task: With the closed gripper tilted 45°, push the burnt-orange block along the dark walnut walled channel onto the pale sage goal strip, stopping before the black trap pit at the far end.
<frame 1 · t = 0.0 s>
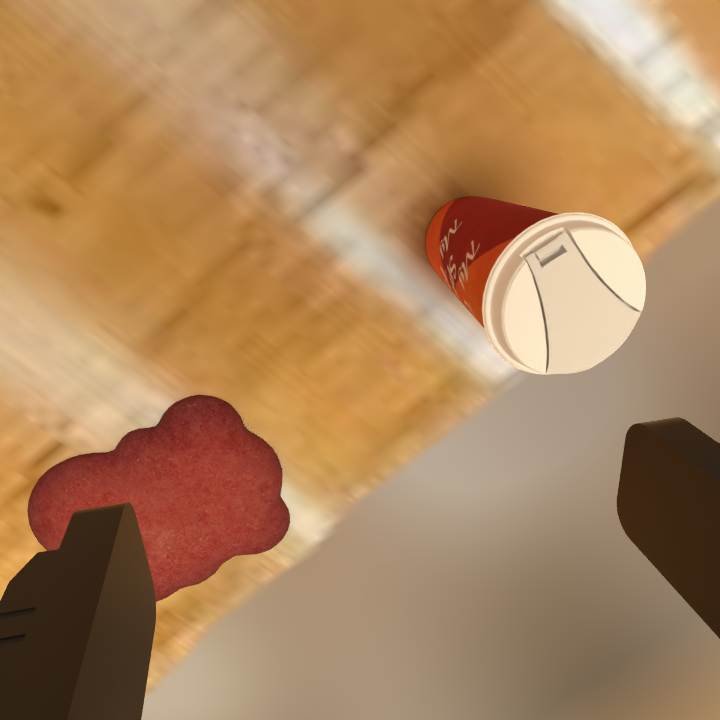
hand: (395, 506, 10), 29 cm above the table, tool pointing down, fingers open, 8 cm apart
patty: (166, 503, 43), on the table
paper cup: (465, 240, 39), on the table
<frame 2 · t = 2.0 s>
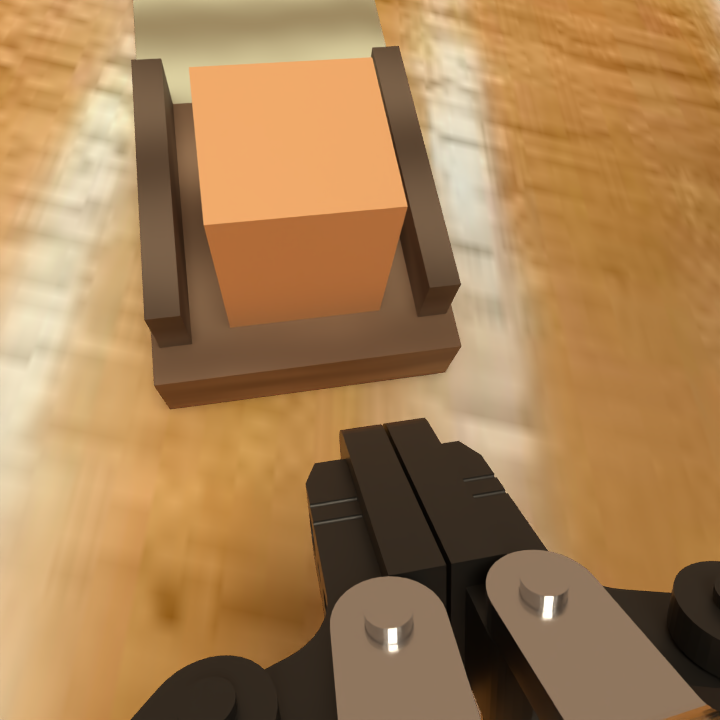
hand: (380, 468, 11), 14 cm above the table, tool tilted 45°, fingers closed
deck: (289, 242, 29), on the table
block: (296, 254, 25), point 3 cm above the table, touching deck
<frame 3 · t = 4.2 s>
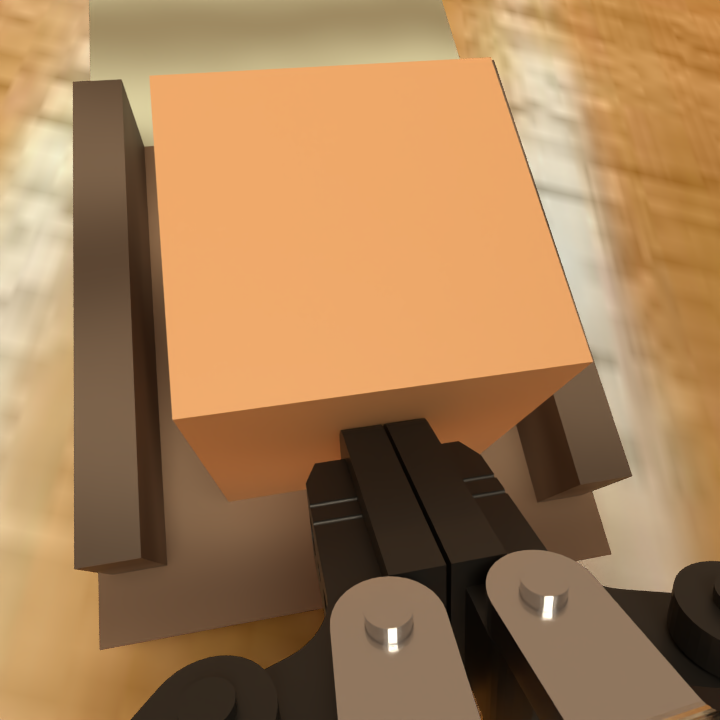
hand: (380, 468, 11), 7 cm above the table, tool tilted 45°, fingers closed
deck: (320, 351, 19), on the table
block: (333, 369, 16), point 3 cm above the table, touching gripper
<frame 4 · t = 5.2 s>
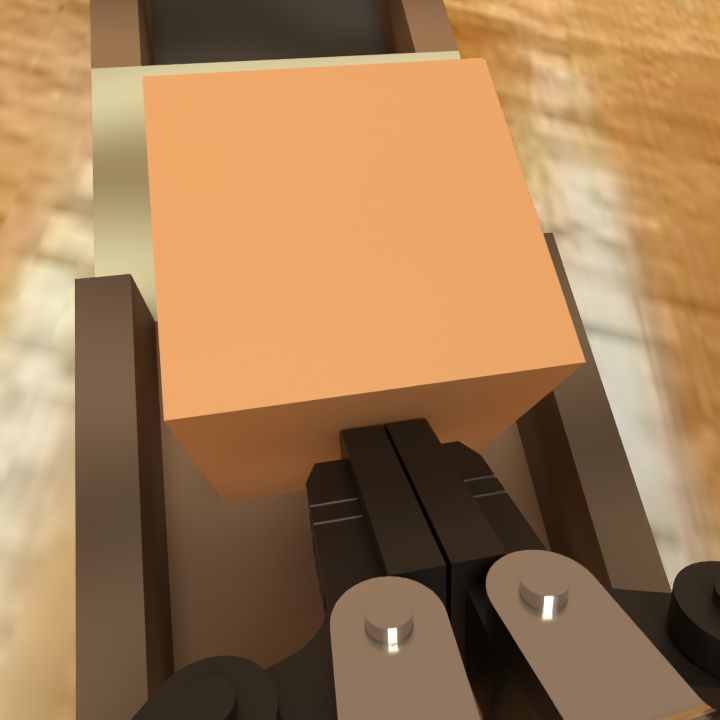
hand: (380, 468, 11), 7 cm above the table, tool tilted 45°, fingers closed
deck: (350, 536, 17), on the table
block: (328, 370, 16), point 3 cm above the table, touching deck, gripper
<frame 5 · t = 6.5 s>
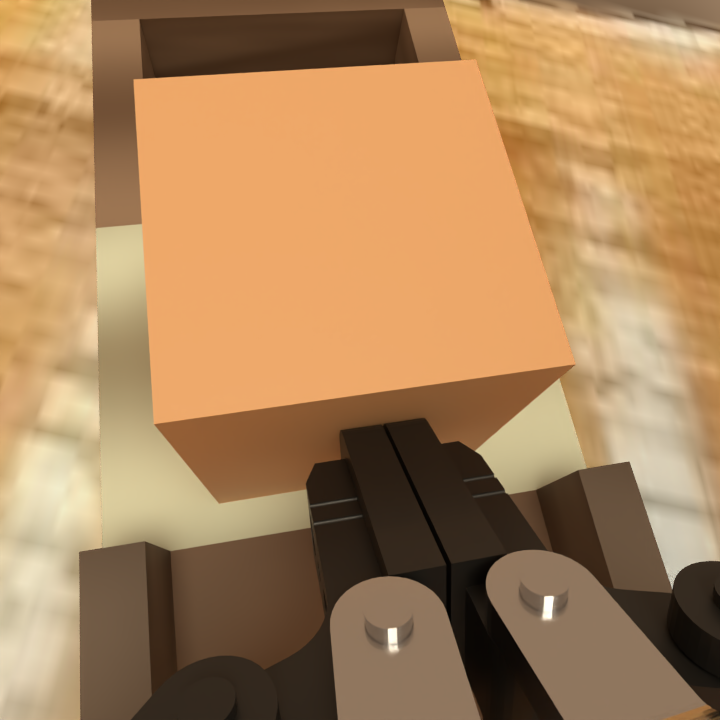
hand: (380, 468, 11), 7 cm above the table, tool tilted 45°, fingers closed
block: (323, 370, 16), point 3 cm above the table, touching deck, gripper
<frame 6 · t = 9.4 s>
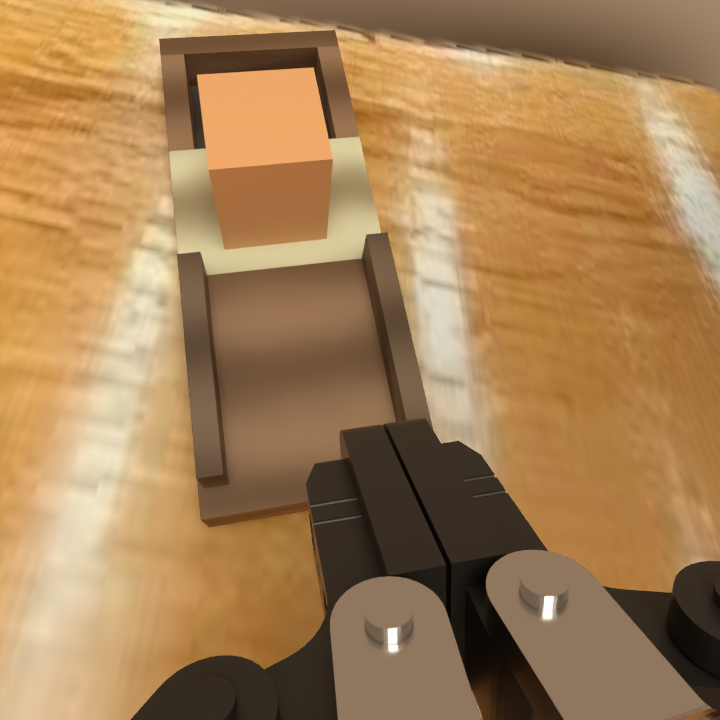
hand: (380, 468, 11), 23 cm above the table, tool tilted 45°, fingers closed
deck: (300, 380, 36), on the table
block: (269, 202, 37), point 3 cm above the table, touching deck
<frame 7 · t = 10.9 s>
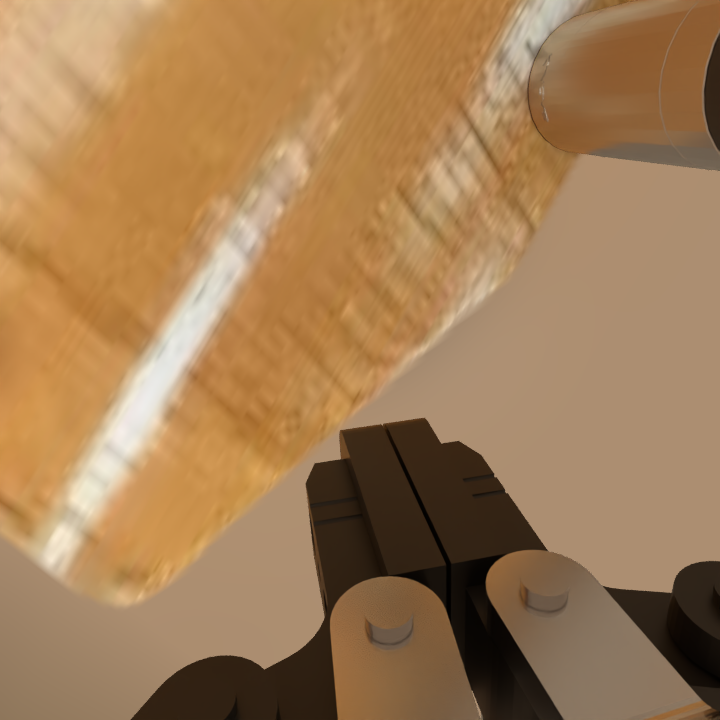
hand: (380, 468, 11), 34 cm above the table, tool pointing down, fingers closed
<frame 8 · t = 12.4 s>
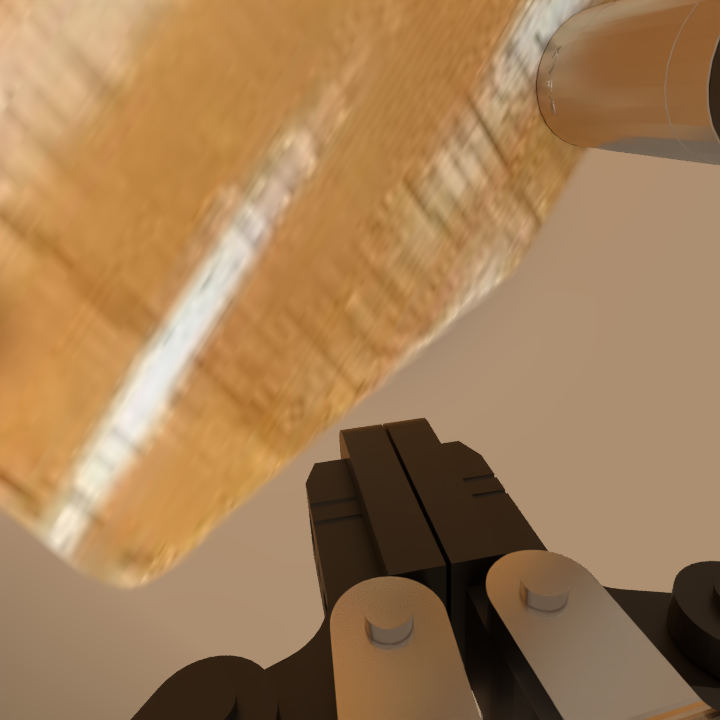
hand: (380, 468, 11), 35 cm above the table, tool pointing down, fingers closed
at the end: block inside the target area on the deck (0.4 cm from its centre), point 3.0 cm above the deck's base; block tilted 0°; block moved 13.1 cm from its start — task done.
